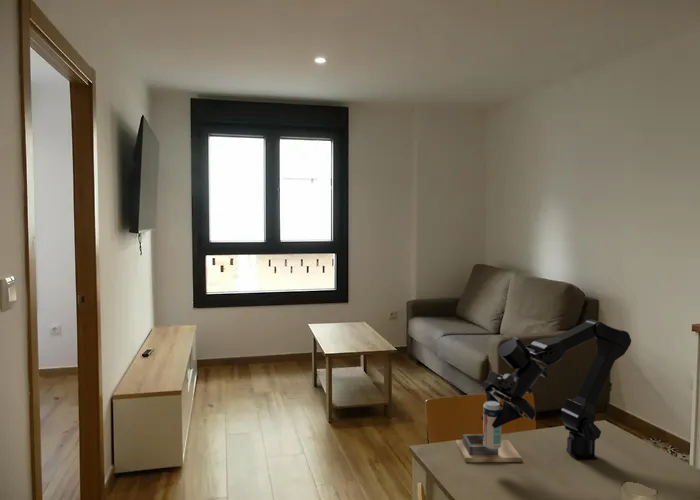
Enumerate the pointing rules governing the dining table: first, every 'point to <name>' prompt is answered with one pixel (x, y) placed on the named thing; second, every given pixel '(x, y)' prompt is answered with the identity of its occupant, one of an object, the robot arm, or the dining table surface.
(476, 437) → the seat board
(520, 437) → the dining table surface
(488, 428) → the beer can
